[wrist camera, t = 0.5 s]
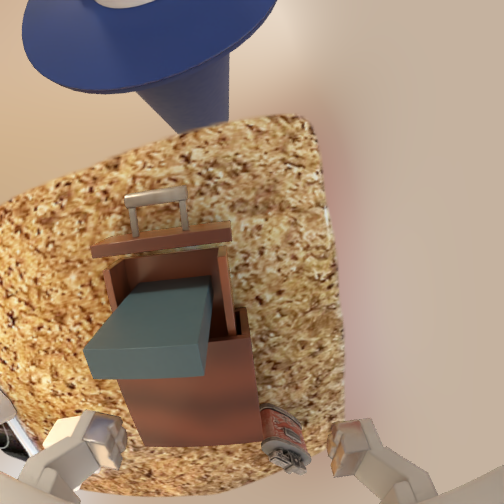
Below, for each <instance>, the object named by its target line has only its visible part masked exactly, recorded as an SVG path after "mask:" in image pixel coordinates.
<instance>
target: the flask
mask: <svg viewBox="0 0 504 504" xmlns="http://www.w3.org/2000/svg"><path fill="white" fill-rule="evenodd" d="M16 413H17V412H16V410H15V408H14V407H13V405H12V403H11V401H10V400H9V399H8V398H7V397H6V396H5V395H4V394H3V393H2V392H1V391H0V424H2V423H4V422H7V421H9V420H11V419H13V418H14V417H15V415H16Z"/></svg>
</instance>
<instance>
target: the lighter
mask: <svg viewBox="0 0 504 504" xmlns="http://www.w3.org/2000/svg"><path fill="white" fill-rule="evenodd" d="M259 408H260V416H261V424H262V431H263V439H264V441H262V443H261V448H262V451H263V452H264V453H266V454H267V455H268V456H269V461H270V462H272V463H274V464H276V465H278V466H280V467H282V468H283V469H284V470H285V472H287V473H288V474H291V473H292V472H294V473H296V474H298V475H303V474H305V473H306V472H307V470H306V467H305V466H306V465H308V464H309V463H310V462H311V456H310V454H309V453H308V452H307V448H306V445H305V442H304V438H303V435H302V432H301V430H302V427H301V424H300V422H299V421H298V420H297V419H296V418H295V417H294V416H292V415H291V414H290V413H288V412H287V411H285V410H283V409H281V408H280V407H277V406H275V405H272V404H269V403H265V404H262V405H260V406H259Z"/></svg>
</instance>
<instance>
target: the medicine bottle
mask: <svg viewBox="0 0 504 504" xmlns="http://www.w3.org/2000/svg"><path fill="white" fill-rule="evenodd" d="M80 417H81V416H75V417H69V418H62V419H58V420H57V421H56V423H55V424H54V426H53V428H52V429H51V431H50V433H49V434H48V436H47V438H46V439H45V441H44V443H43V447H44V448H45V449H46V448H48V447H50V446H51V445H53V444H55V443H56V442H58V441H60V440H62V439H63V438H65V437H67V436H69V437H71V435H72V433H73V431H74V429H75V427H76V425H77V423H78V421H79V419H80ZM100 469H101V467H100V468H99V469H98V470H96V471H95V472H94V473H99V472H100ZM81 484H82V483H81ZM81 484H80V485H79V486H77V487H76V488H75V489H74V490H73V491H76V490H79V489H80V486H81Z"/></svg>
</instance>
